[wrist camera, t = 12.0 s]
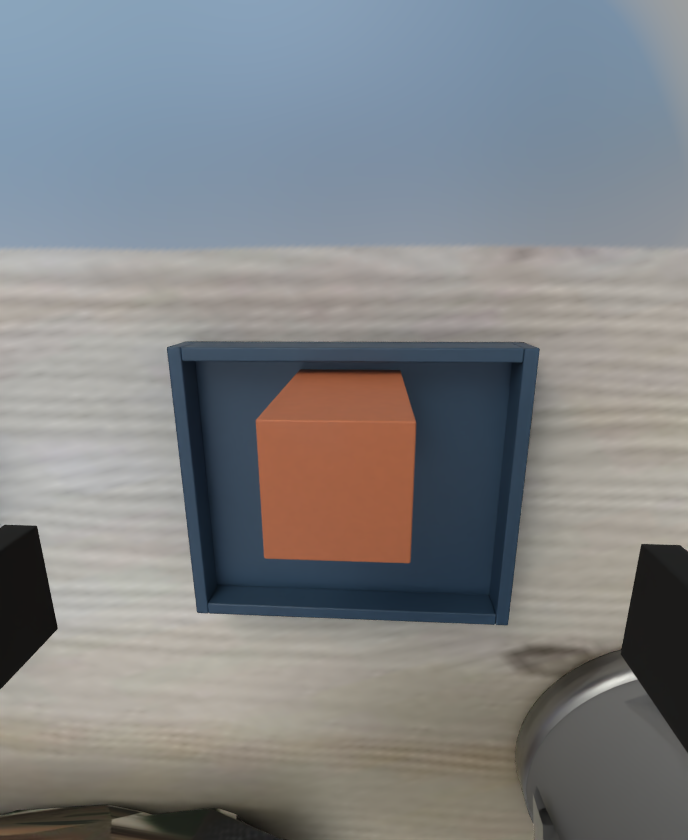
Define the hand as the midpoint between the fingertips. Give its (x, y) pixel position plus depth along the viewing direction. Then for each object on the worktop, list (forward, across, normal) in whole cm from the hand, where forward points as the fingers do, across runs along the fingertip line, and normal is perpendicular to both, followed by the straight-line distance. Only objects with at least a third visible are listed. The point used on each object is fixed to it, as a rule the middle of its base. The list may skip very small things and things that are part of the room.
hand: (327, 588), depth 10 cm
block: (+12, 0, -1) cm, 12 cm away
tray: (+12, 0, +2) cm, 12 cm away
